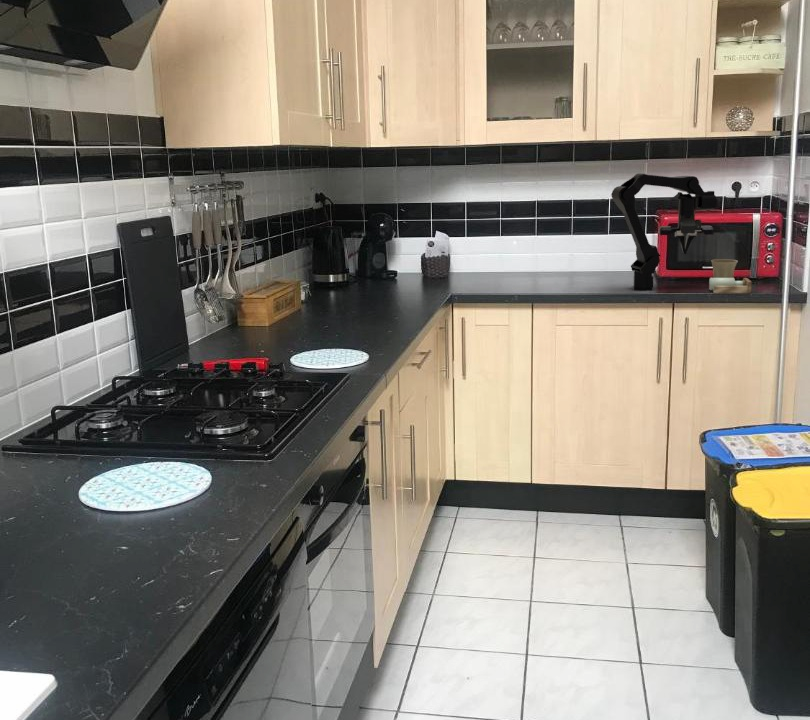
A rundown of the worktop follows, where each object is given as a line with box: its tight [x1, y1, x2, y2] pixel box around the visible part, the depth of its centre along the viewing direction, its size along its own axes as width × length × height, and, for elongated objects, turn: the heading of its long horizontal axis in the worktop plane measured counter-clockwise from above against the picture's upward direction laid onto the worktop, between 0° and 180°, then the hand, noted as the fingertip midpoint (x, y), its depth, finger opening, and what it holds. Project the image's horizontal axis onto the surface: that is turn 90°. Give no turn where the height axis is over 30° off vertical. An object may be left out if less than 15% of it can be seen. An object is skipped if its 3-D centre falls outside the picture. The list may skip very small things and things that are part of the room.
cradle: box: [711, 277, 752, 294], centre depth 298 cm, size 12×9×4 cm
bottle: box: [708, 277, 745, 291], centre depth 298 cm, size 4×4×12 cm
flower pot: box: [710, 258, 738, 278], centre depth 313 cm, size 9×9×9 cm
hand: (684, 253), depth 308 cm, fingers closed
